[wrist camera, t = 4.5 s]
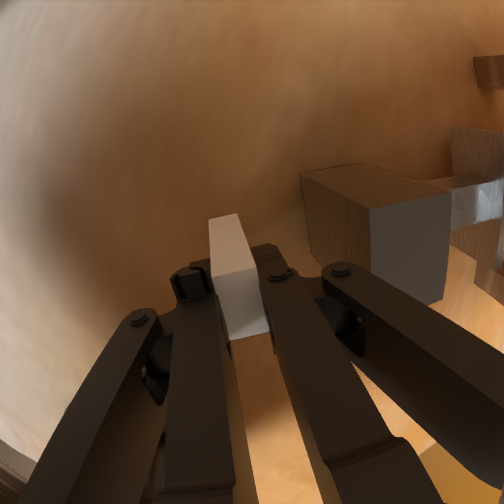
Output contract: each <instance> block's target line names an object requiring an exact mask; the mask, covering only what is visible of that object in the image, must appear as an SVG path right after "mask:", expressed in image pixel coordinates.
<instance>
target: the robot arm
mask: <svg viewBox="0 0 504 504" xmlns="http://www.w3.org/2000/svg"><path fill="white" fill-rule="evenodd" d="M209 241H210V258H208V259H204V260H200V261H195V262H191V264H190V265H189V266H188V267H185V268H182V269H180V270H178V271H176V272H175V273H174V274H173V275H172V276H171V278H170V281H171V284H172V287H173V290H174V293H175V296H176V298H177V305H176V308H175V309H173V310H172V311H170V312H168V313H165V314H163V315H161V316H158V315H157V313H156V311H155V310H153V309H149V308H145V309H138V310H137V311H136V310H135V311H133V312H132V313H131V314H129V315H127V316H126V317H125V318H124V320H123V321H122V322H121V324H120V325H119V327H118V328H117V330H116V331H115V333H114V334H113V336H112V337H111V339H110V340H109V342H108V343H107V345H106V346H105V348H104V350H103V351H102V353H101V354H100V356H99V357H98V359H97V361H96V362H95V364H94V365H93V367H92V368H91V370H90V372H89V373H88V375H87V377H86V378H85V380H84V381H83V383H82V385H81V386H80V388H79V390H78V391H77V393H76V395H75V396H74V398H73V400H72V401H71V403H70V405H69V406H68V407H67V408H66V410H65V413H64V415H63V417H62V419H61V420H60V422H59V424H58V426H57V428H56V429H55V431H54V433H53V435H52V437H51V438H50V440H49V442H48V444H47V446H46V448H45V449H44V451H43V453H42V455H41V457H40V459H39V461H38V463H37V465H36V467H35V469H34V471H33V473H32V475H31V477H30V479H28V478H27V477H25V476H24V475H22V474H21V473H19V472H18V471H16V470H15V469H13V468H12V467H11V466H9V465H8V464H7V463H5V462H4V461H2V460H1V459H0V504H259V502H258V497H257V492H256V486H255V481H254V476H253V471H252V465H251V460H250V455H249V449H248V444H247V438H246V432H245V427H244V421H243V415H242V409H241V403H240V397H239V391H238V385H237V378H236V372H235V366H234V359H233V353H232V348H231V344H230V341H231V340H236V339H240V338H244V337H249V336H253V335H257V334H261V333H265V332H269V331H270V336H271V340H272V345H273V350H274V355H276V356H277V359H278V363H279V366H280V369H281V372H282V375H283V378H284V382H285V385H286V388H287V391H288V394H289V397H290V401H291V404H292V407H293V410H294V413H295V416H296V419H297V422H298V426H299V429H300V432H301V435H302V438H303V441H304V444H305V447H306V451H307V454H308V457H309V460H310V463H311V466H312V469H313V472H314V475H315V478H316V482H317V485H318V488H319V491H320V494H321V497H322V500H323V504H446V503H443V501H442V499H441V497H440V495H439V493H438V492H437V490H436V488H435V486H434V484H433V482H432V480H431V479H430V477H429V475H428V473H427V471H426V470H425V468H424V466H423V464H422V463H421V461H420V459H419V457H418V455H417V454H416V452H415V450H414V449H413V447H412V446H411V444H410V443H409V442H408V441H407V440H406V439H404V438H403V437H395V436H394V435H392V433H391V432H390V430H389V429H388V427H387V425H386V423H385V421H384V420H383V418H382V416H381V414H380V412H379V411H378V409H377V407H376V405H375V403H374V402H373V400H372V398H371V396H370V395H369V393H368V391H367V389H366V388H365V386H364V384H363V382H362V380H361V379H360V377H359V375H358V373H357V372H356V370H355V368H354V367H353V365H352V363H354V364H355V365H356V366H357V367H358V368H359V369H360V370H361V371H362V372H363V373H364V374H365V375H366V376H367V377H368V378H369V379H370V380H372V381H373V382H374V383H375V384H376V385H377V386H378V387H379V388H380V389H381V390H382V391H383V392H384V393H385V394H386V395H387V396H389V397H390V398H391V399H392V400H393V401H394V402H395V403H396V404H397V405H398V406H399V407H400V408H401V409H402V410H403V411H405V412H406V413H407V414H408V415H409V416H410V417H411V418H412V419H413V420H414V421H415V422H416V423H417V424H418V425H420V426H421V427H422V428H423V429H424V430H425V431H426V432H427V433H428V434H429V435H430V436H431V437H432V438H434V439H435V440H436V441H437V442H438V443H439V444H440V445H441V446H442V447H443V448H444V449H445V450H447V451H448V452H449V453H450V454H451V455H452V456H453V457H454V458H455V459H456V460H457V461H458V462H460V463H461V464H462V465H463V466H464V467H465V468H466V469H467V470H468V471H470V472H471V473H472V474H474V475H475V476H476V477H477V478H479V479H480V480H482V481H484V482H485V483H487V484H489V485H490V486H492V487H494V488H497V489H500V490H502V495H501V496H500V499H499V504H504V354H503V353H501V352H500V351H498V350H497V349H495V348H494V347H492V346H491V345H489V344H487V343H486V342H484V341H483V340H481V339H480V338H478V337H476V336H475V335H473V334H472V333H470V332H469V331H467V330H465V329H464V328H462V327H461V326H459V325H457V324H456V323H454V322H453V321H451V320H449V319H448V318H446V317H444V316H443V315H441V314H440V313H438V312H436V311H435V310H433V309H431V308H430V307H428V306H426V305H425V304H423V303H421V302H420V301H418V300H416V299H415V298H413V297H411V296H410V295H408V294H406V293H405V292H403V291H401V290H399V289H398V288H396V287H394V286H393V285H391V284H389V283H388V282H386V281H384V280H382V279H381V278H379V277H377V276H375V275H374V274H372V273H370V272H368V271H367V270H365V269H363V268H361V267H360V266H358V265H356V264H353V263H351V262H344V261H340V262H335V263H332V264H329V265H327V266H325V267H324V268H323V269H322V271H321V276H322V277H315V278H305V277H300V275H299V274H298V272H297V271H296V270H295V269H293V268H290V267H288V265H287V263H286V262H285V260H284V258H283V257H282V255H281V253H280V251H279V250H278V248H277V246H274V245H272V244H270V243H269V244H264V245H260V246H256V247H251V248H249V245H248V243H247V240H246V237H245V235H244V232H243V229H242V226H241V224H240V221H239V218H238V215H237V213H235V214H230V215H226V216H222V217H217V218H213V219H209ZM228 336H229V337H228ZM229 339H230V341H229ZM351 362H352V363H351ZM142 370H143V372H142Z"/></svg>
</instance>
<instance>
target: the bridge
mask: <svg viewBox="0 0 504 504" xmlns="http://www.w3.org/2000/svg"><path fill="white" fill-rule="evenodd" d="M474 63H475V69H476V75H477V81H478V86H479V87H485V88H491V89H504V55H501V56H485V57H474ZM474 284H476V285H477V286H478V287H480V288H481V289H482V290H484V291H485V292H486V293H488V294H489V295H490V296H492V297H493V298H494V299H495V300H497V301H498V302H499V303H501V304H502V305H503V306H504V261H503V264H502V268H501V269H499V270H496V271H494V272H493V271H492V270H490V269H489V268H487V267H486V266H484V265H483V264H481V263H480V262H477V268H476V274H475V280H474Z"/></svg>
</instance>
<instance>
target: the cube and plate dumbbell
mask: <svg viewBox="0 0 504 504" xmlns="http://www.w3.org/2000/svg"><path fill="white" fill-rule="evenodd" d="M450 129H451V143H452V163H453V176H449V177H443V178H437V179H431V180H425V181H418V180H415V179H412V178H409V177H406V176H403V175H400V174H397V173H394V172H390V171H387V170H384V169H380V168H377V167H374V166H370V165H367V164H363V163H359V164H352V165H346V166H340V167H334V168H328V169H322V170H316V171H310V172H305V173H300V176H301V182H302V189H303V196H304V203H305V211H306V218H307V226H308V234H309V242H310V251H311V253H312V255H313V256H314V257H315V258H316V260H317V261H318V262H319V263H320V264H321V266H322V267H323V268H324V267H325V266H327V265H329V264H332V263H335V262H340V261H344V262H351V263H353V264H356V265H358V266H360V267H361V268H363V269H365V270H367V271H368V272H370V273H372V274H374V275H375V276H377V277H379V278H381V279H382V280H384V281H386V282H388V283H389V284H391V285H393V286H394V287H396V288H398V289H399V290H401V291H403V292H405V293H406V294H408V295H410V296H411V297H413V298H415V299H416V300H418V301H420V302H421V303H423V304H425V305H426V306H427V305H430V304H432V303H435V302H437V301H440V300H442V299H443V293H444V287H445V280H446V272H447V263H448V254H449V243H450V244H451V245H452V246H454V247H456V248H457V249H459V250H461V251H462V252H464V253H465V254H467V255H469V256H470V257H472V258H473V259H475V260H477V261H478V262H480V263H481V264H483V265H484V266H486V267H487V268H489V269H490V270H492V271H493V272H494V271H496V270H499V269H501V268H502V264H503V259H504V132H500V131H494V130H487V129H480V128H473V127H465V126H450ZM450 231H451V242H450Z"/></svg>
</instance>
